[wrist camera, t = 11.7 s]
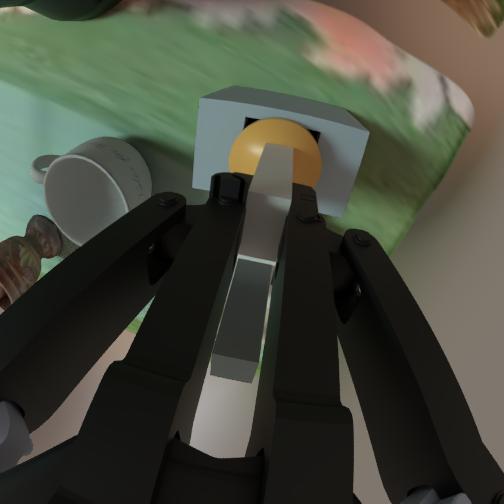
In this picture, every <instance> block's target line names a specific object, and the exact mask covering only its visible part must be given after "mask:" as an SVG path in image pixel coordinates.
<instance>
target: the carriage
mask: <svg viewBox="0 0 504 504" xmlns="http://www.w3.org/2000/svg"><path fill="white" fill-rule="evenodd" d="M276 261H277V260H276ZM275 265H276V262H273V261H268V260H263V259H258V258H254V257H249V256H244V255H239V254H238V256H237V262H236V266H235V270H234V273H233V277H232V280H231V284H230V288H229V291H228V295H227V298H226V300H227V301H226V304H225V308H224V311H223V315H222V319H221V322H220V326H219V330H218V333H217V337H216V341H215V344H214V348H213V352H212V360H211V372H210V375H213V376H217V377H222V378H227V379H232V380H236V381H241V382H246V383H252V381H253V378H254V375H255V372H256V369H257V366H258V363H259V357H260V350H261V343H262V336H263V329H264V322H265V315H266V308H269V307H270V299H271V291H272V285H270V284H271V280H272V276H273V273H274V269H275Z"/></svg>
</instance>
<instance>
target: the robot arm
mask: <svg viewBox="0 0 504 504" xmlns="http://www.w3.org/2000/svg"><path fill="white" fill-rule="evenodd" d="M120 1H122V0H0V8H3V7H13V6H24V7H27V8H29V9H31V10H33V11H35V12H37V13H40V14H42V15H44V16H46V17H48V18H50V19H53V20H58V21H81V20H86V19H90V18H93V17H95V16H98V15H100V14H102V13H104V12H106V11H107V10H109V9H111V8H112V7H114V6H115V5H116V4H118V3H119V2H120ZM292 175H293V148H292V147H287V146H282V145H277V144H272V143H267V142H266V144H265V146H264V149H263V152H262V154H261V157H260V160H259V163H258V165H257V168H256V171H255V174H254V175H250V174H244V173H239V172H234V173H230V172H221V173H216V174H214V175H212V176H211V184H210V194H209V199H208V201H207V202H206V204H203V205H186V198H185V197H184V196H182V195H180V194H178V193H173V192H163V193H158V194H156V195H154V196H152V197H150V198H149V199H147V200H146V201H144V202H143V203H141V204H140V205H138V206H137V207H135V208H134V209H132V210H131V211H129V212H128V213H126V214H125V215H123V216H122V217H120V218H119V219H118V220H116V221H115V222H113V223H112V224H110V225H109V226H108V227H106V228H105V229H104V230H102V231H101V232H99V233H98V234H97V235H95V236H94V237H93V238H91V239H90V240H89V241H87V242H86V243H85V244H83V245H82V246H81V247H79V248H78V249H77V250H75V251H74V252H73V253H72V254H70V255H69V256H68V257H66V258H65V259H64V260H63V261H61V262H60V263H59V264H58V265H56V266H55V267H54V268H53V269H52V270H50V271H49V272H48V273H47V274H45V275H44V276H43V277H42V278H41V279H40V280H38V281H37V282H36V283H35V284H34V285H33V286H31V287H30V288H29V289H28V290H27V291H26V292H25V293H23V294H22V295H21V296H20V297H19V298H18V299H17V300H16V301H15V302H14V303H12V304H11V305H10V306H9V307H8V308H7V309H6V310H5V311H4V312H3V313H2V314H1V315H0V504H362V503H361V502H360V500H359V499H358V498H357V497H356V495H355V494H354V493H353V474H354V473H353V472H354V471H353V470H354V431H353V418H352V414H351V412H350V410H349V408H347V407H345V406H343V405H342V404H341V401H340V383H339V358H338V341H337V335H338V338H339V341H340V344H341V347H342V350H343V353H344V356H345V359H346V362H347V365H348V368H349V371H350V374H351V377H352V381H353V383H354V387H355V390H356V393H357V396H358V400H359V403H360V406H361V410H362V413H363V416H364V420H365V423H366V427H367V430H368V433H369V437H370V441H371V444H372V448H373V451H374V455H375V459H376V463H377V466H378V470H379V474H380V477H381V480H382V483H383V486H384V489H385V491H386V493H387V495H388V498H389V500H390V501H391V503H392V504H504V473H503V471H502V470H501V468H500V467H499V465H498V464H497V462H496V461H495V459H494V458H493V457H492V455H491V454H490V452H489V451H488V449H487V448H486V446H485V445H484V444H483V442H482V440H481V437H480V434H479V432H478V429H477V426H476V424H475V421H474V419H473V416H472V414H471V411H470V409H469V406H468V404H467V401H466V399H465V397H464V394H463V392H462V390H461V388H460V385H459V383H458V381H457V379H456V377H455V375H454V373H453V370H452V368H451V366H450V364H449V362H448V360H447V358H446V356H445V354H444V352H443V350H442V348H441V346H440V344H439V342H438V340H437V338H436V337H435V335H434V333H433V331H432V329H431V327H430V325H429V324H428V322H427V320H426V319H425V316H424V315H423V313H422V311H421V310H420V308H419V306H418V304H417V302H416V301H415V299H414V297H413V296H412V294H411V293H410V291H409V289H408V287H407V286H406V284H405V282H404V281H403V279H402V278H401V276H400V274H399V273H398V271H397V270H396V268H395V266H394V265H393V263H392V262H391V260H390V259H389V257H388V256H387V254H386V253H385V251H384V250H383V248H382V247H381V245H380V244H379V242H378V241H377V240H376V239H375V238H374V237H373V236H372V235H370V234H369V233H368V232H366V231H364V230H358V229H349V230H347V231H346V232H345V234H344V237H343V236H341V235H339V234H336V233H334V232H332V231H330V230H328V229H327V228H326V225H325V220H324V218H323V217H322V216H321V215H320V214H319V213H318V205H317V197H316V192H315V191H314V189H313V188H312V187H311V186H307V185H302V184H298V183H293V182H292ZM150 247H151V248H150ZM149 248H150V249H149ZM238 254H239V255H244V256H249V257H254V258H258V259H263V260H268V261H273V262H276V265H275V269H274V273H273V276H272V280H271V284H270V285H272V291H271V299H270V307H269V314H268V322H267V329H266V336H265V343H264V350H263V357H262V364H261V371H260V378H259V385H258V391H257V398H256V405H255V411H254V417H253V423H252V430H251V436H250V439H249V443H248V446H247V450H246V454H245V457H242V458H223V459H222V458H215V457H212V456H209V455H208V454H205V453H203V452H201V451H199V450H197V449H195V448H193V447H191V446H189V444H190V439H191V432H192V426H193V421H194V417H195V413H196V409H197V406H198V402H199V398H200V395H201V390H202V387H203V383H204V379H205V376H206V372H207V368H208V364H209V361H210V357H211V353H212V350H213V346H214V342H215V339H216V335H217V331H218V328H219V324H220V320H221V317H222V313H223V309H224V306H225V302H226V298H227V295H228V291H229V288H230V284H231V280H232V277H233V273H234V270H235V266H236V262H237V256H238ZM276 260H277V261H276ZM359 288H360V291H361V293H360V291H359ZM154 296H155V297H154ZM153 297H154V299H153V301H152V303H151V305H150V307H149V309H148V311H147V313H146V315H145V317H144V319H143V322H142V324H141V326H140V328H139V330H138V332H137V334H136V336H135V338H134V340H133V342H132V344H131V347H130V349H129V351H128V353H127V355H126V357H125V358H124V359H123V360H121V361H114V362H113V363H112V364H110V365H109V367H108V369H107V370H106V372H105V373H104V376H103V378H102V380H101V382H100V384H99V387H98V389H97V391H96V393H95V396H94V398H93V400H92V402H91V404H90V407H89V409H88V411H87V414H86V416H85V419H84V421H83V423H82V426H81V428H80V431H79V433H78V435H76V436H74V437H72V438H70V439H68V440H66V441H64V442H62V443H61V444H59V445H57V446H55V447H53V448H51V449H49V450H47V451H45V452H43V453H41V454H39V455H38V456H35V457H33V458H31V459H29V460H27V461H25V462H23V463H21V464H19V465H17V463H18V460H19V459H20V458H21V457H22V456H23V455H24V456H27V455H29V454H30V453H31V452H32V450H33V444H32V441H31V439H30V438H29V434H30V433H32V432H33V431H35V430H36V429H37V428H39V427H40V426H41V425H42V424H43V423H44V422H46V421H47V420H48V419H49V418H50V417H51V416H52V415H53V413H54V412H55V411H56V410H57V409H58V408H59V407H60V405H61V404H62V403H63V402H64V401H65V399H66V398H67V397H68V396H69V394H70V393H71V392H72V391H73V390H74V388H75V387H76V386H77V385H78V383H79V382H80V381H81V380H82V379H83V377H84V376H85V375H86V374H87V373H88V371H89V370H90V369H91V368H92V367H93V366H94V364H95V363H96V362H97V361H98V360H99V358H100V357H101V356H102V355H103V354H104V353H105V351H106V350H107V349H108V348H109V347H110V346H111V344H112V343H113V342H114V341H115V340H116V339H117V338H118V336H119V335H120V334H121V333H122V332H123V330H125V328H126V327H127V326H128V325H129V324H130V323H131V322H132V321H133V319H134V318H135V317H136V316H137V315H138V314H139V313H140V312H141V310H142V309H143V308H144V307H145V306H146V305H147V304H148V303H149V302H150V300H151V299H152V298H153ZM16 465H17V466H16Z"/></svg>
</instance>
